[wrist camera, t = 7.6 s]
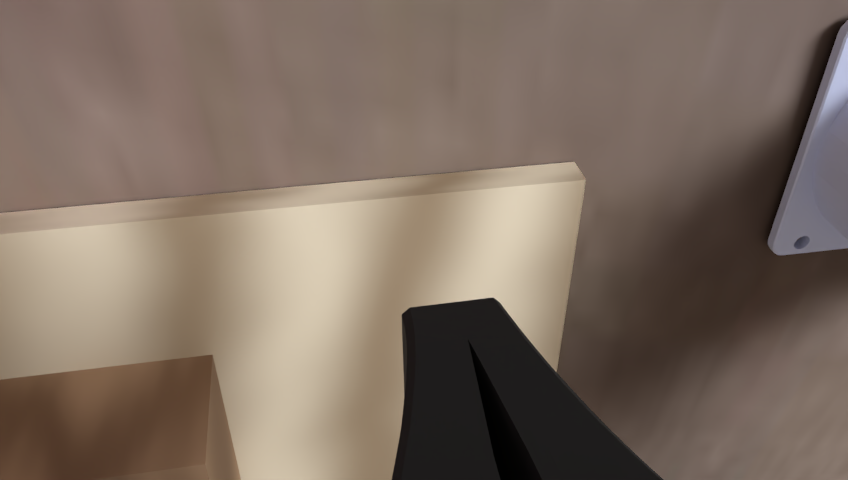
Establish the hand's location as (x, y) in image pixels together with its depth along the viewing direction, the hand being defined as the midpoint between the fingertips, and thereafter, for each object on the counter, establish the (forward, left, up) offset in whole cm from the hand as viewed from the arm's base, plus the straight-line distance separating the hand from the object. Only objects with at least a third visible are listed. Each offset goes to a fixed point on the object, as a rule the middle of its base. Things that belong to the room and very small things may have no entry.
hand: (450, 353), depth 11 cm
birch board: (+6, +11, -10) cm, 17 cm away
